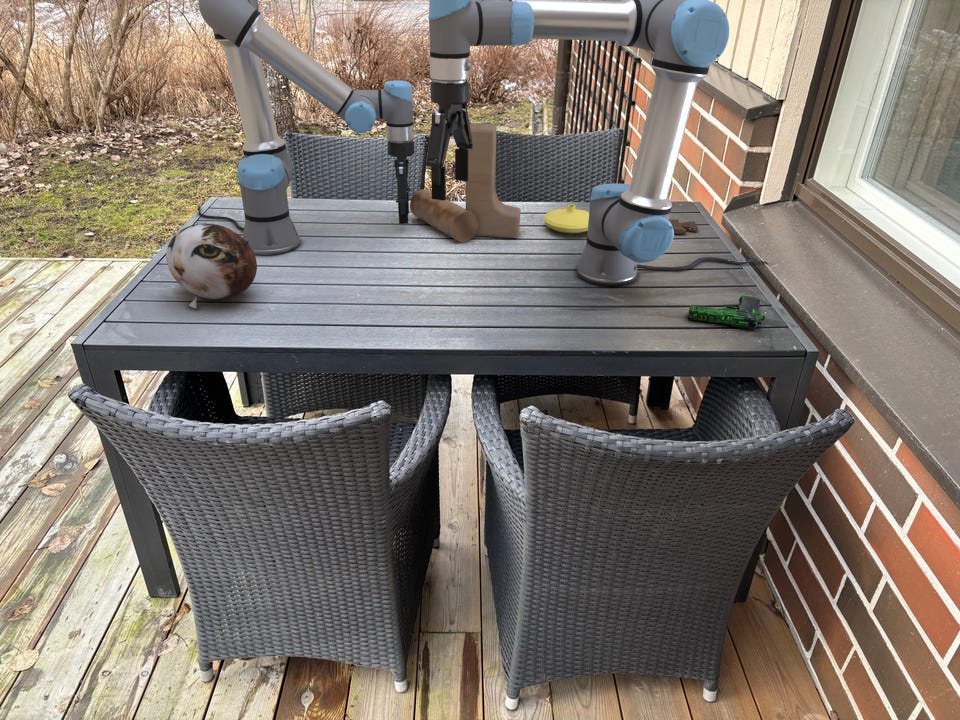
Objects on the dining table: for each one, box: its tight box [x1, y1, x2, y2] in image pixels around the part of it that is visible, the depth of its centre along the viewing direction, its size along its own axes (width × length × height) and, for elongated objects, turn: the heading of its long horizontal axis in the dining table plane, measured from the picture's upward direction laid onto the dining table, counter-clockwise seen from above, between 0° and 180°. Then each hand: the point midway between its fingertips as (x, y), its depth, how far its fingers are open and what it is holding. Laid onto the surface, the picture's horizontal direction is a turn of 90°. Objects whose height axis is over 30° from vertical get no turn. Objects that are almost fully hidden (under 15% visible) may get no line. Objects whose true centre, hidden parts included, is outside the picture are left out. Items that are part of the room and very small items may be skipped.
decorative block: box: [465, 122, 521, 239], centre depth 199 cm, size 8×15×30 cm, turn 82°
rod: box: [409, 188, 478, 243], centre depth 207 cm, size 24×9×9 cm
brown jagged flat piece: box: [668, 218, 698, 235], centre depth 212 cm, size 26×2×10 cm
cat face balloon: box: [165, 222, 258, 309], centre depth 165 cm, size 22×18×20 cm
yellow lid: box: [543, 203, 589, 234], centre depth 209 cm, size 16×16×7 cm
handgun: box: [687, 295, 766, 331], centre depth 164 cm, size 16×3×15 cm
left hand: (404, 218), depth 211 cm, fingers open, 8 cm apart
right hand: (450, 189), depth 147 cm, fingers open, 13 cm apart
